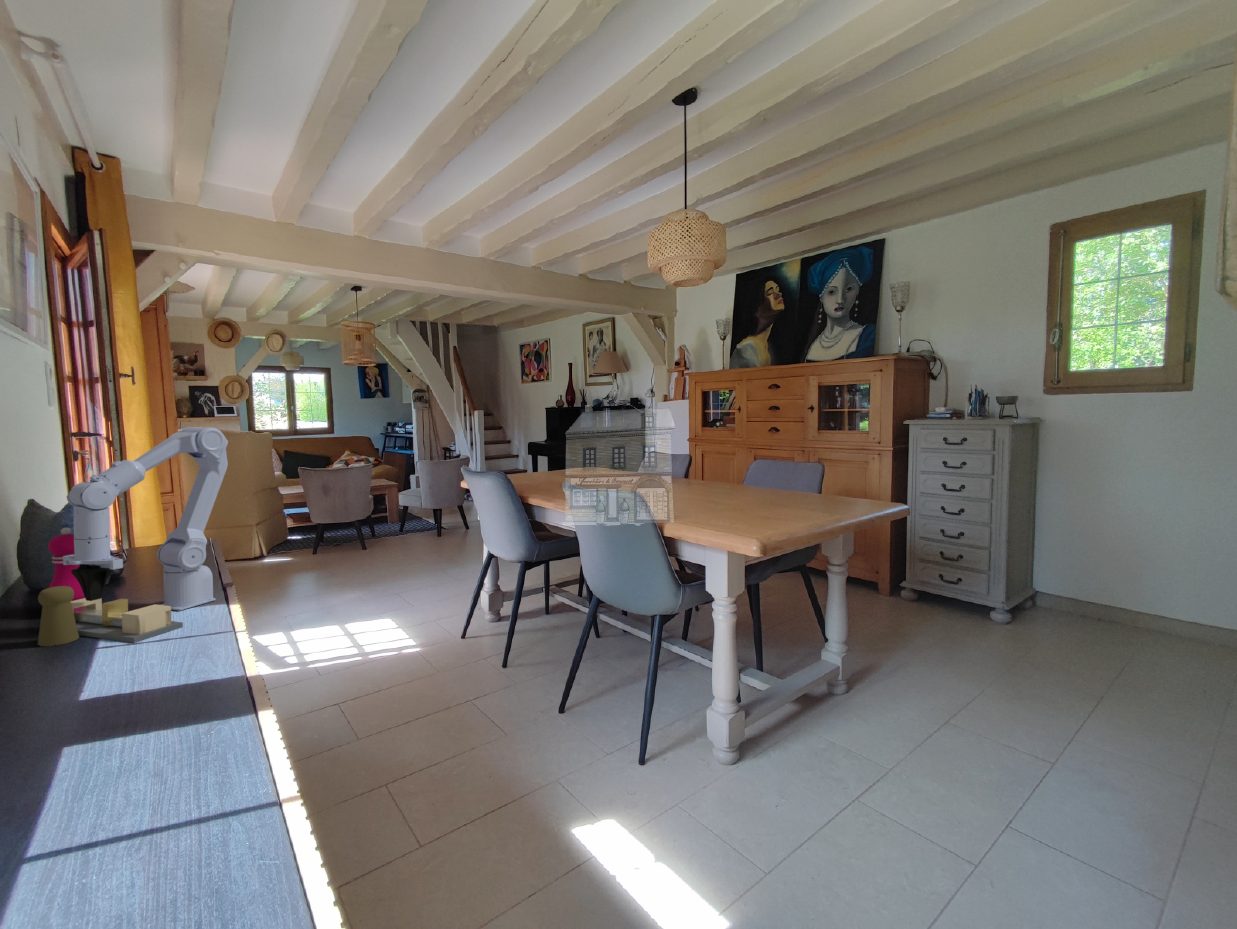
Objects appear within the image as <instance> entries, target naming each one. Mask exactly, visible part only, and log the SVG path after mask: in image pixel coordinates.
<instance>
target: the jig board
mask: <svg viewBox="0 0 1237 929" xmlns="http://www.w3.org/2000/svg"><path fill="white" fill-rule="evenodd" d="M102 603H103V601H102V597H101V599H97V600H93V601H87V600H86V598H83V599H79V600H75V601H71V605H72V609H73V613H74V609H75V608H79V607H83V606H84V608H89V609H98V610H102ZM75 622H76V626H77V630H78V634H79V636H82V637H90V638H97V639H104V640H110V641H119V642H124V643H126V642H127V643H138V642H140V641H141V642H142V641H145V640H147V639H150V638H154V637H156V636H159V635H162V634H166V633H168V632H171V631H175V630H177V629H180V628H183V625H184V624H183V623H184V622H181V621H176V620H175V621H173V620H172V610H171V606H165V605H159V604H157V603H156V604H155V603H154V604H152V605H151V604H150V605H148V606H147V605H146V606H144V607H139V608H136V609H133V610H128V612H125V613H122V627H119V626H111V625H110V626H103V625H102V624H96V623H88V622H80V621H75Z"/></svg>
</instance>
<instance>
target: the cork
mask: <svg viewBox="0 0 1237 929" xmlns="http://www.w3.org/2000/svg"><path fill="white" fill-rule="evenodd" d="M73 597H74V591H73V589H72V588H71V587H68V586H56V587H51V588H49V587H47V588H45V589H42V590H41V591H40V592H39V594H38V597H37V600H38V603H39V604H40V605H41V606H42V608H41V616H40V623H39V632H38V638H37V646H38V645H40V646H39V647H43V646H44V647H54V646H55V645H56V646H61V645H66V644H70V643H72V642H75V641H77V640H78V639H79V638H80V635H79V634H78V630H77V626H76V622H75V617H74V613H73V609H72V605H71V601H72V599H73Z"/></svg>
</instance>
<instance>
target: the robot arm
mask: <svg viewBox="0 0 1237 929" xmlns="http://www.w3.org/2000/svg"><path fill="white" fill-rule="evenodd" d="M228 444H229V441H228V439H227V438H226V436H225V434H224V433H223V432H222V431H221V430H220V429H218V428H216V427H194V426H188V427H185V428H182V429H181V430H180V431H177V432H174V433H172V434H171V435H170V436H169V437H168V438H166V439H164V440H163V441H161V442H160V443H159V444H157V445H156V446H154V447H152V448H151V449H150V450H148V451H146V452H145V453H143V454H142V455H140V456H139V457H137V458H135V459H134V460H128V459H122V460H115V461H113V462H111V464H110V465H111V467H110V468H109V467H108V469H106V470H104V471H102V472H100V473H99V474H93V475H91V476H90V477H89V481H81V482H79V483H76V484H75V485H73V486H72V487H71V489H70V490H69V492H68V493H69V494H66V500H67V502H68V504H70V505H71V506H72V507H73V534H74V555H67V556H63V565H70V564H71V565H79V567H78V569H73V570H71V573H72V574H73V575H74V576H75V577H76V579H77V580H78V582H79V584H80V586H81V588H82V590H83V593H84V596H85V598H86V600H87V601H93V600H97V599H101V598H102V596H103V593H104V590H105V587H106V583H107V581H108V579H109V577H110V575H111V574H112V573H113V571H115V570H118V569H123V568H124V560H123V558H118V557H116V556H113V555H111V535H110V534H111V530H110V527H111V526H110V507H111V506H112V505H113V504H114V502H115V500H116V498H117V497H118V496H120V495H122V494H123V493H125V492H126V491H128V490H130V489H131V488H133V487H134V486H136V485H137V484H140V483H141V482H143V481H144V480H145V476H146V472H147V471H150V470H151V469H153V468H155V467H157V466H158V465H161V464H162V463H164V462H166V461H168V460H169V459H171V458H173V457H175V456H176V455H178V454H186V455H187V454H188V455H189V456H190V457H192V458H193V459H194V461H195V463H196V464H197V465H198V467H199V470H198V472H197V475H196V477H195V480H194V482H193V485H192V488H191V491H190V493H189V496H188V499H187V502H186V504H185V506H184V509H183V512H182V514H181V516H180V520H179V522H178V525H177V527H176V528H175V529H174V530H172V531H171V532H170V533H168V535H167V538H166V539H165V541H164V542H163V543H162V544H161V545H160V546H159V548H158V549H157V552H156V559H157V561H158V562H159V563H160V564H161V565H162V566H163V570H162V571H163V572H162V573H163V574H162V575H163V603H161V604H158V605H165V606H171V611H182V610H187V609H190V608H193V607H196V606H200V605H204V604H207V603H210V602H213V601H216V600H217V598H215V597H214V583H213V582H214V579H213V578H214V577H213V576H214V575H213V572H212V571H211V568H210V567H208V566H207V565H203V564H204V563H205V561H206V558H207V550H206V547H207V545H208V539H207V538H206V535H205V533H204V532H205V529H206V526H207V524H208V521H209V518H210V515H211V513H212V510H213V508H214V504H215V502H216V499H217V496H218V494H219V491H220V488H221V486H222V484H223V480H224V477H225V475H226V473H227V471H228V470H227V469H228V465H229V461H228V457H227V456H228V455H227V446H228Z"/></svg>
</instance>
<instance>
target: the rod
mask: <svg viewBox="0 0 1237 929" xmlns="http://www.w3.org/2000/svg"><path fill="white" fill-rule="evenodd" d="M125 612H129V600H128V598H120V599H115V600H111V601H106V602H102V610H98V609H89V608H77V609H74V617H75V621H80V622H88V623H96V624H102V625H103V626H110V625H111V626H119V627H122V613H125Z"/></svg>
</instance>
